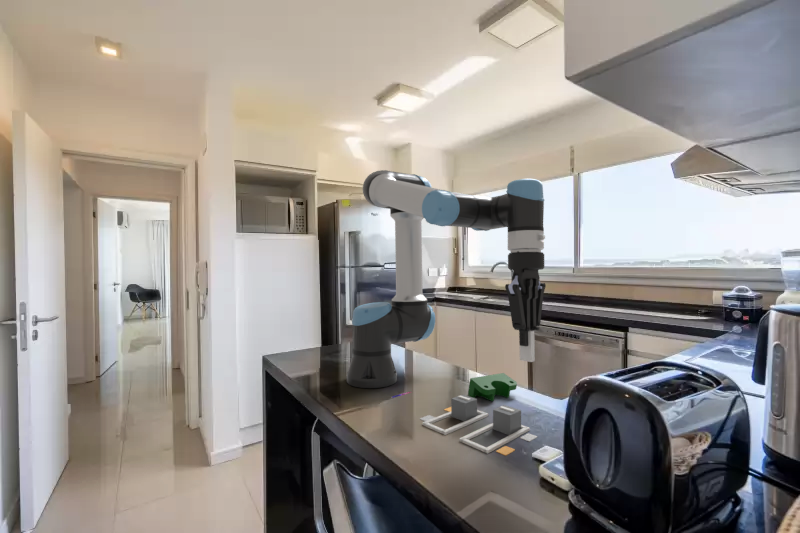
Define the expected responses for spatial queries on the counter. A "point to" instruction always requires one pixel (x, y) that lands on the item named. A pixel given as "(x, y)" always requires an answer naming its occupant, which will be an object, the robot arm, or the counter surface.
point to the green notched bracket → (491, 386)
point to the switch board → (478, 432)
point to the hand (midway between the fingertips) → (527, 360)
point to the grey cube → (506, 419)
